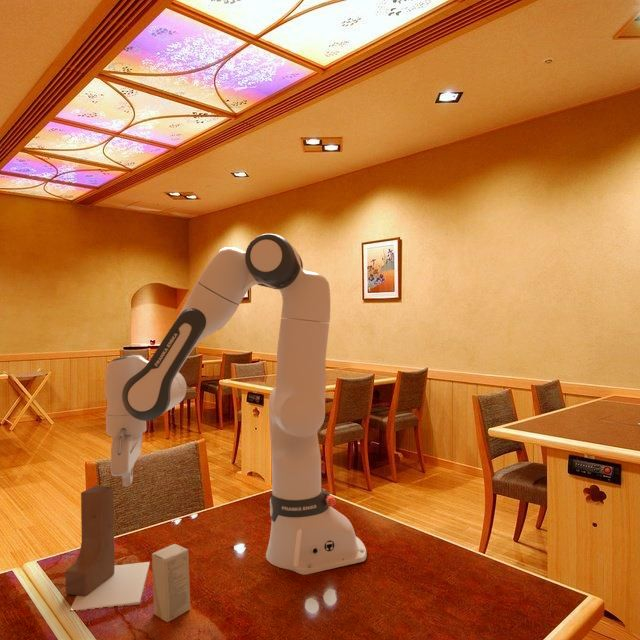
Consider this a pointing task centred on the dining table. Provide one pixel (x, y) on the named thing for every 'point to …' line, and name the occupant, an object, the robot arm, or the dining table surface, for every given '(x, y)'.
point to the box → (171, 582)
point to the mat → (116, 588)
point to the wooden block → (93, 542)
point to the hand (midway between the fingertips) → (127, 484)
